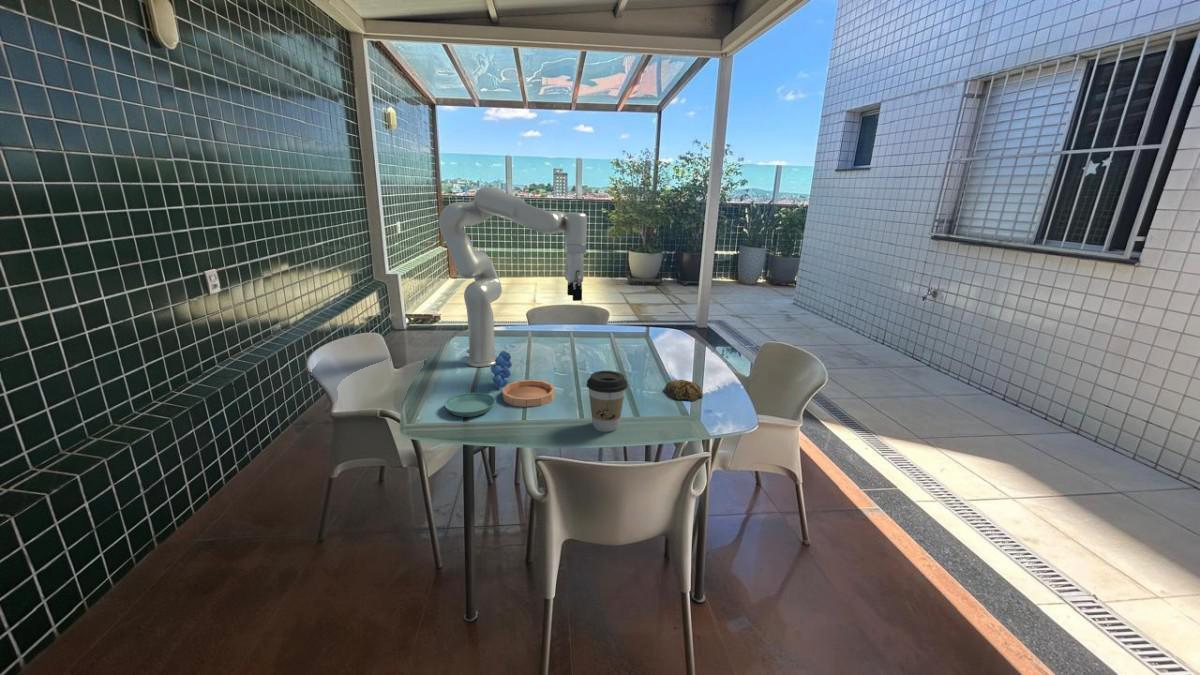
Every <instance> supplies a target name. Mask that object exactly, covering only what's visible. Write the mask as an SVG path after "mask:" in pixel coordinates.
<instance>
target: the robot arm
mask: <svg viewBox="0 0 1200 675" xmlns="http://www.w3.org/2000/svg"><path fill="white" fill-rule="evenodd" d="M494 216H496V217H498V218H501V219H505V220H508V221H511V222H512V223H513V222H514V223H515V224H517V225H520V226H521V227H524V228H527V229H529V230H531V231H532V230H533V231H536V232H537V233H540V234H541V233H542V234H544V235H545V234H546V235H555V234H561V233H564V251H563V252H564V254H565V255H566V256H565V257H566V258H565V268H564V270H565V273H564V279H565V280H566V281H567V289H566V291H567V296H572V301H574V302H579V301H580V302H581V301H582V300H583V284H582V283H583V282H584V269H585V268H584V267H585V266H584V261H585V260H584V255H587V234H588V230H587V229H588V228H587V227H588V217H587V214H586V213H585V212H572V211H571V212H565V211H559V210H546V209H542V208H540V207H536V206H534V205H531V204H528V203H527V202H525V200H524V199H523V198H521V197H520V196H516V195H512V194H509V193H507V192H504V191H503V190H502V189H500V188H497V187H490V186H488V187H486V186H485V187H481V188H479V189H478V190H477V191H476V192H475V193H474V196H473V200H471V201H469V202H468V201H467V202H466V201H465V202H464V201H460V202H459V201H456V202H452V203H448V205H446V206H445V207H443V209H442V211H441V212H440V214H439V219H438V227H439V231H440V233H441V235H442V237H443V239H444V242H445V244H446V246H447V248H448V252H449V254H450V256H451V259H452V261H453V263H454V266H455V268H456V271H457V273H458V274H459V276H460V277H461V278H462V279H466V280H467V279H469V280H471V279H474V281H472V282H471V283H469V284H468V285H467V286H466V287H465V289H464V293H463V298H464V303H465V308H466V314H467V315H466V316H467V329H468V330H467V332H468V345H469V346H468V347H469V349H466V353H467V354H468V357H467V358H466V359H465V364H466V365H467V366H470V367H476V368H479V367H480V368H482V367H492V366H493V365H494V364H496V362H495V359H496V358H497V357H498V356H499V355H498V356H497V355H496V351H495V350H496V348H495V346H496V345H495V344H496V343H495V323H494V321H495V320H494V313H493V312H494V311H493V309H492V305H491V303H493V302H495V301H497V300H499V299H500V297H501V295H502V293H503V289H502V284H501V281H500V279H499V276H498V273H497V271H496V269H495V266H494V264H493V262H492V260H491V258H490V257H489V255H488V254H487V253H486V252H483V251H481V250H475V248H474V246H473V243H472V240H471V239H470V236H469V235H468V234H467V233H466V232H465V230H464V227H470V226H471V227H473V226H477V225H479V224H481V223H483V222H485V221H487V220H489V219H490V218H492V217H494Z"/></svg>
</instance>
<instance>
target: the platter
mask: <svg viewBox="0 0 1200 675" xmlns="http://www.w3.org/2000/svg"><path fill="white" fill-rule="evenodd" d="M501 389H502V398H503V402H505V403H507V404H509V405H510V406H513V407H514V406H515V407H520V408H521V407H522V408H523V407H524V408H529V407H528V406H533V407H540V406H543V404H544V405H546V404H548V403H551V402H552V401H553V400H554V399H555V398H556V388H555V386H554V384H553V383H550V382H547V381H544V380H539V379H537V380H536V379H523V380H522V379H521V380H516V381H513V382H511V383H507V384H506V385H505V386H503V388H501ZM539 405H540V406H539ZM526 406H527V407H526Z"/></svg>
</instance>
